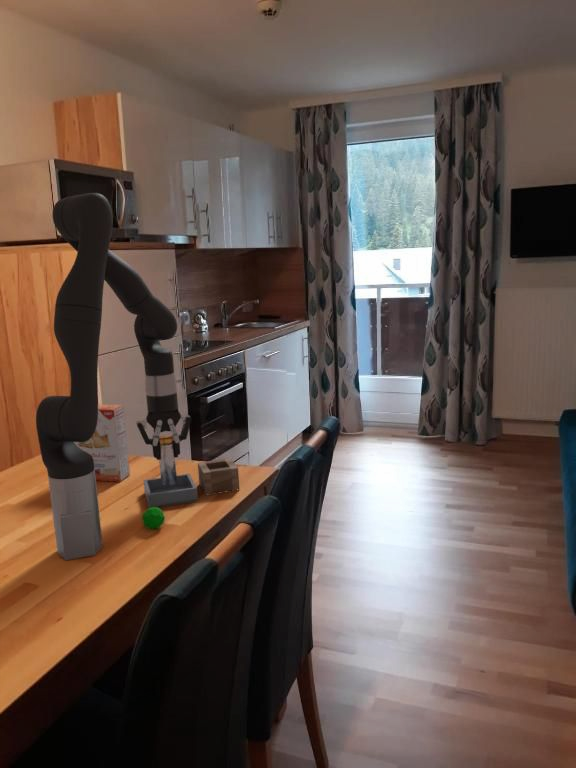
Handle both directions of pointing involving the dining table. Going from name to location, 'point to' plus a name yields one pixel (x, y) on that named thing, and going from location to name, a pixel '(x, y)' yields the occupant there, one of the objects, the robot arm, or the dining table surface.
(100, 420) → the cracker box
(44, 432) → the robot arm
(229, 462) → the wooden crate
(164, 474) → the gold capped jar
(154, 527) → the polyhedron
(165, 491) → the slate tray
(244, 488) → the dining table surface
